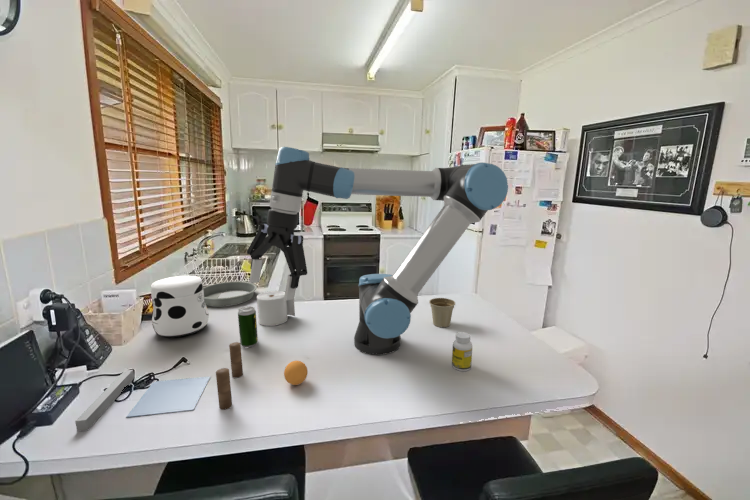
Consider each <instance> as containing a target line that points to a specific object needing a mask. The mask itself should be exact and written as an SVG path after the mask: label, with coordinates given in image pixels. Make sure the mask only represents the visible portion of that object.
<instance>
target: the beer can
mask: <svg viewBox="0 0 750 500" xmlns="http://www.w3.org/2000/svg"><path fill="white" fill-rule="evenodd" d="M237 310H238V311H237V318H238V319H237V321H238V332H239V343H240V344H241V347H242V348H245V347H249V348H252V346H253V347H255V346H256V345H257V344H258V343H259V337H258V324H257V311H256V308H255V307H254V306H251V305H250V306H247V305H246V306H242V307H240V308H239V309H237Z"/></svg>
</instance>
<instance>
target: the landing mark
mask: <svg viewBox="0 0 750 500" xmlns="http://www.w3.org/2000/svg"><path fill="white" fill-rule="evenodd" d="M210 379H211V376H199V377H188V378H175V379H166V380H164V379H163V380H156V382H154V381H153V382H154V383H153V382H152V383H151V384H150V386H149V387H148V388H147V389H146V390H145V392H144V394H143V395H142V396H141V397H140V399H139V400H138V401H137V402H136V404H135V405H134V406H133V408H132V409H131V410H130V411H129V413H128V414H127V415H126V417H125V418H133V417H134V418H135V417H136V418H137V417H145V416H152V415H153V416H154V415H163V414H171V413H181V412H189V411H190V412H191V411H192V412H193V411H194V410H195V408H196V406H197V405H198V403H199V400H200V398H201V396H202V395H203V393H204V391H205V389H206V387H207V385H208V383H209V381H210Z"/></svg>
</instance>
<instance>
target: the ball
mask: <svg viewBox="0 0 750 500" xmlns="http://www.w3.org/2000/svg"><path fill="white" fill-rule="evenodd" d="M308 372H309V371H308V367H307V365H306V364H305V363H304V361H301V360H292V361H291V362H289V363H288V364H287V365H286V366H285V369H284V371H283V376H284V379H285V381H286V382H287V383H288V384H290V385H292V386H298V385H300V384H302V383H304V382H305V381H306V379H307V377H308Z"/></svg>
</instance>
